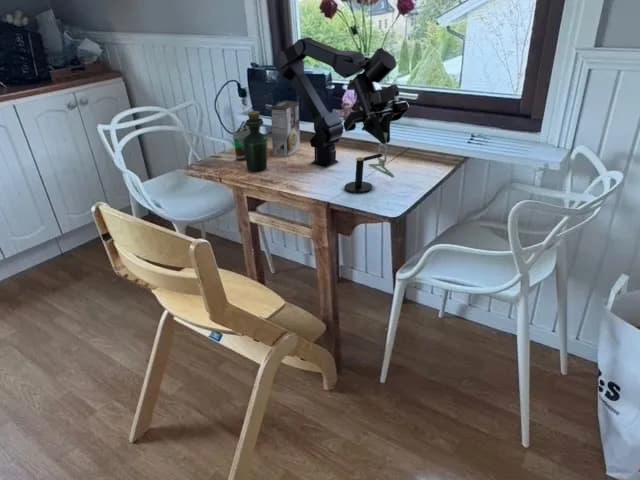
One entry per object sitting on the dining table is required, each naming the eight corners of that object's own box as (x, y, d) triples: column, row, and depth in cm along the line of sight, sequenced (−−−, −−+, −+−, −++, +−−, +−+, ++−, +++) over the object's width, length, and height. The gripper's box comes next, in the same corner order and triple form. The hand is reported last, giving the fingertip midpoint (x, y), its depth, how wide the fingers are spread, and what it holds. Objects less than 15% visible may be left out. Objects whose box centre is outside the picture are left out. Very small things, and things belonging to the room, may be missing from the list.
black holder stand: (339, 187, 155) (340, 157, 150) (372, 178, 158) (374, 149, 153) (354, 195, 149) (356, 165, 144) (388, 187, 152) (391, 156, 147)
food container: (251, 162, 180) (249, 132, 174) (235, 162, 182) (232, 132, 176) (261, 150, 189) (260, 122, 182) (245, 150, 191) (243, 122, 184)
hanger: (392, 178, 148) (396, 138, 141) (367, 166, 157) (370, 128, 151) (394, 177, 148) (399, 137, 142) (370, 165, 158) (373, 127, 151)
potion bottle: (273, 168, 173) (271, 112, 162) (253, 175, 170) (249, 117, 159) (260, 163, 179) (257, 107, 168) (240, 169, 176) (236, 113, 165)
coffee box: (284, 147, 190) (283, 100, 180) (300, 149, 186) (300, 101, 176) (271, 155, 184) (270, 106, 174) (287, 157, 181) (286, 108, 171)
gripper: (351, 80, 138) (371, 133, 137) (409, 69, 142) (430, 119, 141) (334, 106, 149) (353, 155, 147) (389, 94, 153) (408, 142, 152)
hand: (386, 142), depth 147 cm, fingers closed on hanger, 1 cm apart
